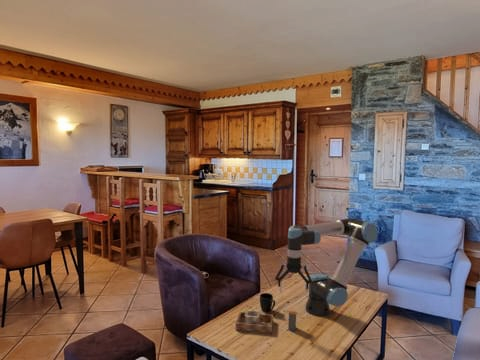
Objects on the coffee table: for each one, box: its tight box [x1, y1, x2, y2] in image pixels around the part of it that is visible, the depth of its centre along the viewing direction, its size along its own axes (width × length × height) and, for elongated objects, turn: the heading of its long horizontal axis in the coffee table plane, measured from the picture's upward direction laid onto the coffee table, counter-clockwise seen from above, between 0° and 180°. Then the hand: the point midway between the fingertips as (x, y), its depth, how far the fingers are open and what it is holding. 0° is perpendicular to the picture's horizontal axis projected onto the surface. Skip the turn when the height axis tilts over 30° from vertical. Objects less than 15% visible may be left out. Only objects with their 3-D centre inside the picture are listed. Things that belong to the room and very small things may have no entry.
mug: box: [259, 292, 276, 313], centre depth 204 cm, size 8×12×10 cm
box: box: [235, 309, 274, 335], centre depth 186 cm, size 20×14×7 cm
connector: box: [287, 307, 297, 332], centre depth 184 cm, size 4×4×11 cm
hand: (292, 293), depth 183 cm, fingers open, 13 cm apart
